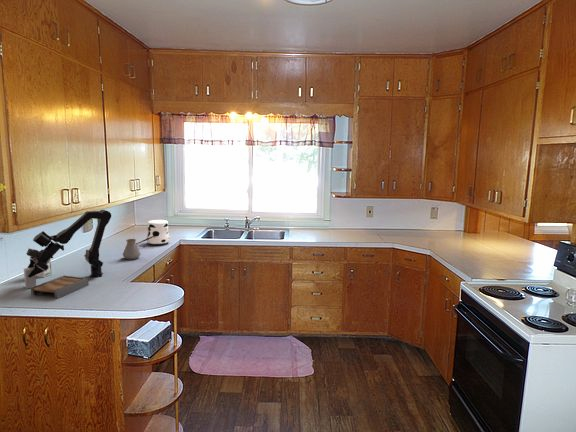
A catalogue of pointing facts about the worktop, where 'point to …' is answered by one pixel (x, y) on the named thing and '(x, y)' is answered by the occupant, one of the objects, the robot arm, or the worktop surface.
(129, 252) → the coffee pot
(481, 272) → the worktop surface
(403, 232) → the worktop surface
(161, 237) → the milk container
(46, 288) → the trapdoor
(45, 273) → the syrup box
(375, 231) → the worktop surface
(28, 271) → the stone
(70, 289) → the frame
